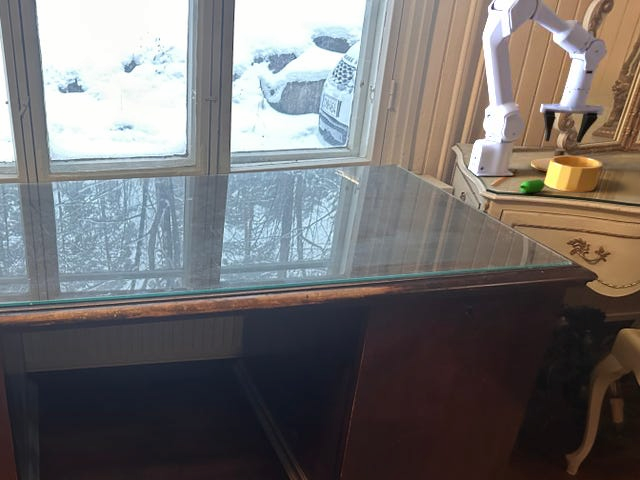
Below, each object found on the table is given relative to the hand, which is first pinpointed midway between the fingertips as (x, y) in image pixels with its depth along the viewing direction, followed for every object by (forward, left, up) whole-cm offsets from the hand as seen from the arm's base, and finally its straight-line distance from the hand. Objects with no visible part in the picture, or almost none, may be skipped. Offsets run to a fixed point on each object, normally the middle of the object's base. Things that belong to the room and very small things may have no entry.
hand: (562, 141), depth 183 cm
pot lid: (0, 0, -7) cm, 7 cm away
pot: (-3, -15, -7) cm, 17 cm away
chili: (-15, -20, -7) cm, 26 cm away
